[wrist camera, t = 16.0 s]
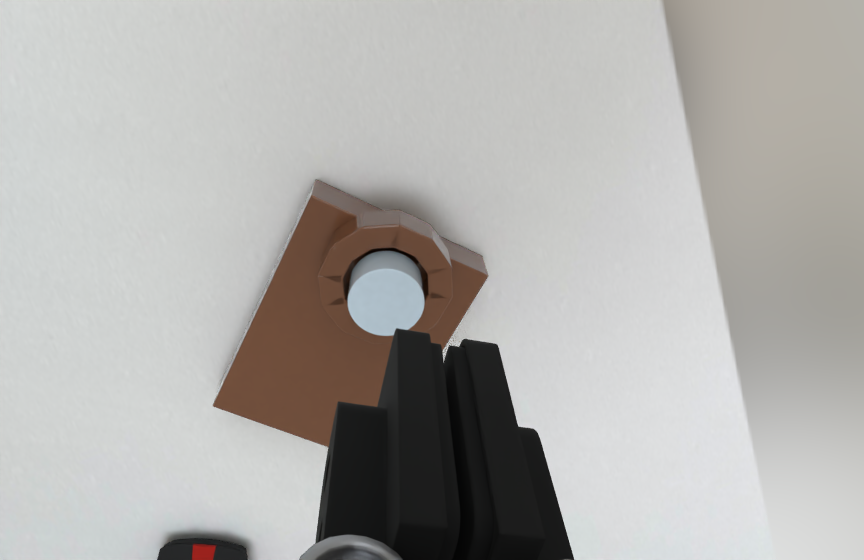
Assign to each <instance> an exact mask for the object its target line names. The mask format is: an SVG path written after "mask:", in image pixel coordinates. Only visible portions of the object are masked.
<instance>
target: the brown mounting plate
mask: <svg viewBox="0 0 864 560" xmlns="http://www.w3.org/2000/svg"><path fill="white" fill-rule="evenodd" d="M378 251H394V252H398V253H401V254H403V255H405V256H407V257H408V258H410V259H411V260H412V261H413V262H414V263H415V264H416V265H417V267H418V268H419V270H420V272H421V276H422V281H423V290H424V300H425V304H424V310H423V313H422V315H421V317H420V319H419V320H418V321H417V322H416V324H415V325H414V326H412V327H411V328H410V329H408V330H411V331H418V332H424V333H429V334H430V338H431V343H437V344H441V347H442V350H443V349H444V347H445V346H446V344H447V342H448V341H449V339H450V337H451V336H452V334H453V333H454V331H455V329H456V328H457V326H458V324H459V323H460V321H461V320H462V318H463V316H464V315H465V313H466V312H467V310H468V308H469V307H470V305H471V303H472V302H473V300H474V299H475V297H476V295H477V294H478V292H479V290H480V289H481V287H482V286H483V284H484V282H485V281H486V279H487V277H488V273H487V270H486V266H485V263H484V260H483V256H481V255H479V254H477V253H475V252H473V251H470V250H468V249H466V248H464V247H462V246H460V245H457V244H455V243H453V242H451V241H449V240H447V239H444V238H442V237H440V236H438V234H437V233H436V232H435V230H434V229H433V227H432V226H431V225H430V224H429V223H427V222H425V221H423V220H421V219H419V218H416V217H414V216H412V215H410V214H408V213H406V212H403V211H401V210H386V211H384V210H382V209H379V208H377V207H375V206H373V205H371V204H369V203H366V202H364V201H362V200H360V199H358V198H356V197H353V196H351V195H349V194H347V193H345V192H343V191H340V190H338V189H336V188H334V187H332V186H330V185H327V184H325V183H323V182H321V181H319V180H315V182H314V184H313V186H312V188H311V190H310V192H309V195H308V197H307V199H306V201H305V203H304V205H303V207H302V210H301V212H300V214H299V216H298V218H297V220H296V222H295V225H294V227H293V229H292V231H291V233H290V235H289V237H288V240H287V242H286V244H285V246H284V248H283V250H282V252H281V255H280V257H279V259H278V261H277V263H276V265H275V267H274V270H273V272H272V274H271V276H270V278H269V280H268V282H267V285H266V287H265V289H264V291H263V293H262V295H261V297H260V300H259V302H258V304H257V306H256V308H255V310H254V312H253V315H252V317H251V319H250V321H249V323H248V325H247V327H246V330H245V332H244V334H243V336H242V338H241V340H240V342H239V345H238V347H237V349H236V351H235V353H234V355H233V357H232V360H231V362H230V364H229V366H228V368H227V370H226V372H225V375H224V377H223V379H222V381H221V384H220V387H219V389H218V392H217V395H216V398H215V400H214V403H213V406H214V407H216V408H219V409H222V410H225V411H228V412H230V413H233V414H236V415H239V416H242V417H245V418H247V419H250V420H253V421H256V422H259V423H262V424H264V425H267V426H270V427H273V428H276V429H279V430H281V431H284V432H287V433H290V434H293V435H296V436H298V437H301V438H304V439H307V440H310V441H313V442H315V443H318V444H321V445H324V446H327V447H329V442H330V437H331V432H332V427H333V421H334V416H335V411H336V407H337V403H338V401H339V402H346V403H353V404H360V405H367V406H375V407H377V405H378V401H379V397H380V392H381V388H382V384H383V379H384V375H385V370H386V366H387V362H388V357H389V353H390V349H391V344H392V340H393V336H394V335H391V336H381V335H375V334H372V333H369V332H367V331H365V330H364V329H362V328H361V327H359V326H358V325H357V324H356V323H355V322H354V320H353V319H352V317H351V315H350V313H349V310H348V291H349V281H350V275H351V272H352V270H353V268H354V267H355V265H356V264H357V263H358V262H359V261H360V260H361V259H362V258H364V257H365V256H367V255H369V254H371V253H374V252H378Z"/></svg>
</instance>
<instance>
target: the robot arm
mask: <svg viewBox="0 0 864 560" xmlns="http://www.w3.org/2000/svg"><path fill="white" fill-rule="evenodd" d="M299 560H574V557H573V554H572V550H571V547H570V543H569V540H568V536H567V533H566V529H565V525H564V522H563V518H562V515H561V511H560V508H559V504H558V501H557V497H556V494H555V490H554V487H553V483H552V480H551V476H550V472H549V469H548V465H547V462H546V458H545V455H544V451H543V448H542V444H541V441H540V438H539V435H538V433H537V432H536V431H535V430H534V429H530V428H523V427H518V425H517V421H516V416H515V412H514V408H513V404H512V400H511V396H510V392H509V388H508V384H507V380H506V376H505V372H504V368H503V364H502V360H501V356H500V352H499V348H498V345H497V344H493V343H487V342H480V341H474V340H468V339H464V340H462V342H461V344H460V347H456V346H449V348H448V350H447V354H446V357H445V361H444V363H443V355H442V347H441V344H437V343H431V338H430V334H429V333H424V332H418V331H411V330H405V329H399V328H396V330H395V333H394V336H393V340H392V344H391V349H390V353H389V357H388V362H387V366H386V370H385V375H384V379H383V384H382V388H381V392H380V397H379V401H378V405H377V407H375V406H367V405H360V404H353V403H346V402H339V401H338V403H337V407H336V411H335V416H334V421H333V427H332V432H331V437H330V442H329V448H328V454H327V460H326V466H325V472H324V479H323V486H322V494H321V502H320V510H319V518H318V526H317V534H316V543H315V544H314V545H313V546H312V547H310V548H309V549H308V550H307V551H306V552H305V553H304V554H303V555H302V556H301V557H300V559H299Z"/></svg>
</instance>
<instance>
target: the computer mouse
mask: <svg viewBox="0 0 864 560" xmlns="http://www.w3.org/2000/svg"><path fill="white" fill-rule="evenodd" d="M157 560H248V558H247V554H246V548H244V547H243V546H241V545H237V544H233V543H229V542H225V541H220V540H213V539H181V540H174V541H171V542H168V543H167V544H166V545H165V546H164V547H163V548H161V549H160V552H159V556H158V559H157Z"/></svg>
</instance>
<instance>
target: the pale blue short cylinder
mask: <svg viewBox="0 0 864 560" xmlns="http://www.w3.org/2000/svg"><path fill="white" fill-rule="evenodd" d="M424 304H425V300H424V290H423V281H422V276H421V272H420V270H419V268H418V267H417V265H416V264H415V263H414V262H413V261H412V260H411V259H410V258H408V257H407V256H405V255H403V254H401V253H398V252H394V251H378V252H374V253H371V254H369V255H367V256H365V257H364V258H362V259H361V260H360V261H359V262H358V263H357V264H356V265H355V267H354V268H353V270H352V272H351V275H350V281H349V291H348V310H349V313H350V315H351V317H352V319H353V320H354V322H355V323H356V324H357V325H358V326H359V327H361V328H362V329H364V330H365V331H367V332H369V333H372V334H375V335H381V336H391V335H394V333H395V330H396V328H399V329H405V330H408V329H410V328H411V327H412V326H414V325H415V324H416V322H417V321H418V320H419V319H420V317H421V315H422V313H423V310H424Z"/></svg>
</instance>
